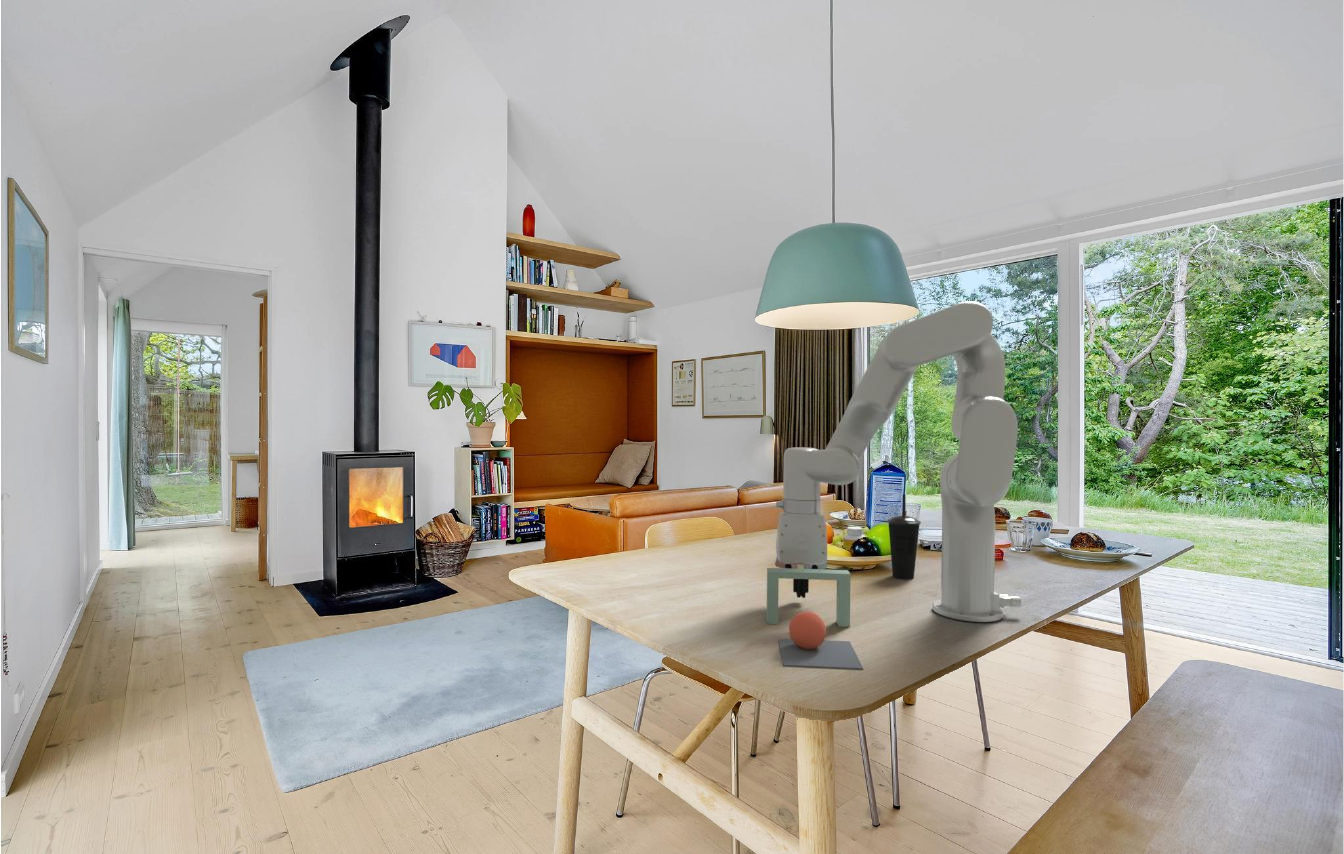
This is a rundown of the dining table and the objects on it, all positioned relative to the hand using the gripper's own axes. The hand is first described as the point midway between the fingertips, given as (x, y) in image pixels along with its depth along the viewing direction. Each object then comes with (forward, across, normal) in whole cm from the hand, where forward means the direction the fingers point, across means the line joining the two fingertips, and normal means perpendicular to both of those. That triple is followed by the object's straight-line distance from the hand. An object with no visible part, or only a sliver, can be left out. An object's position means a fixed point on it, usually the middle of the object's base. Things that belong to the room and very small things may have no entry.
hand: (800, 595), depth 133 cm
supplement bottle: (+2, +17, +35) cm, 39 cm away
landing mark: (+2, 0, -29) cm, 29 cm away
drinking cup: (+2, +27, +26) cm, 38 cm away
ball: (-2, -2, -27) cm, 27 cm away
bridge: (+2, 0, -13) cm, 13 cm away
